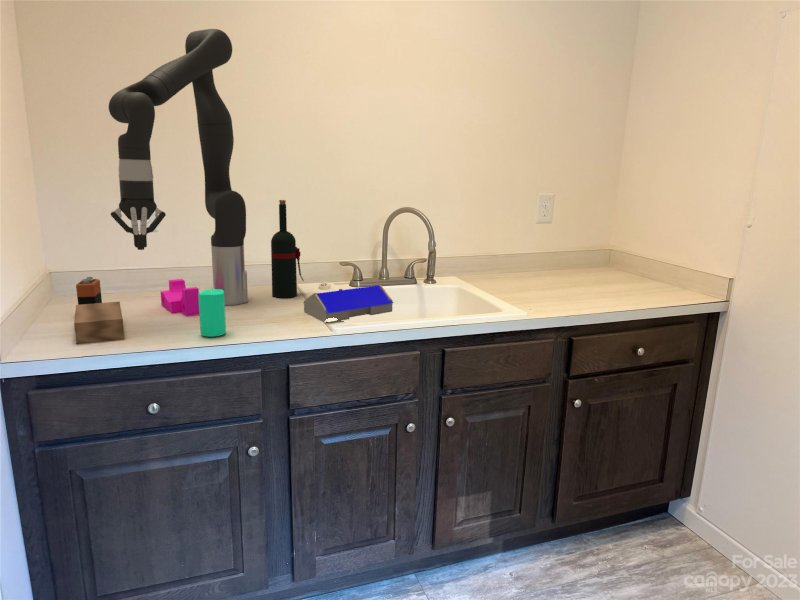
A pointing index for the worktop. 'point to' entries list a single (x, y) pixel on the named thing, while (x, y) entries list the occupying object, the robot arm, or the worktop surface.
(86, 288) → the battery
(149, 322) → the worktop surface
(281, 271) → the wine bottle
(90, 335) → the walnut plinth
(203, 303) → the candle
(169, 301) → the magenta bracket
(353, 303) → the roof
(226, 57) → the robot arm
